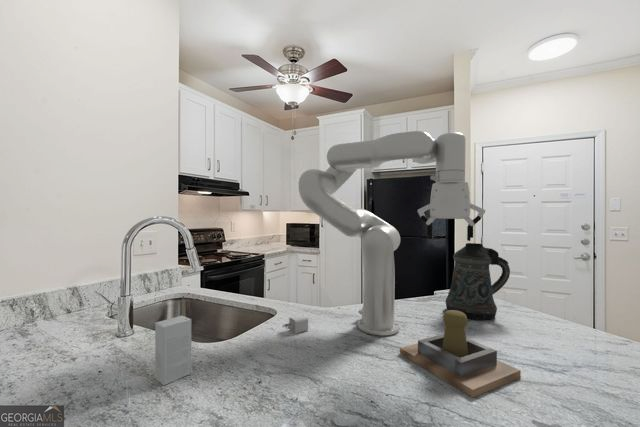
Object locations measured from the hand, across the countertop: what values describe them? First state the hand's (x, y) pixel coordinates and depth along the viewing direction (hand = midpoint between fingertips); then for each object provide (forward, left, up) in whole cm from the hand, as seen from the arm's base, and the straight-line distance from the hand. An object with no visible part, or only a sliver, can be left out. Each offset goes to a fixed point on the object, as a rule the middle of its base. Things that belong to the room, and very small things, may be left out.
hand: (449, 239), depth 83 cm
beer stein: (-12, +28, -28) cm, 42 cm away
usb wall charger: (-25, -36, -28) cm, 52 cm away
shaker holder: (+10, -10, -28) cm, 31 cm away
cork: (+10, -10, -27) cm, 30 cm away
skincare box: (-14, -69, -28) cm, 76 cm away
